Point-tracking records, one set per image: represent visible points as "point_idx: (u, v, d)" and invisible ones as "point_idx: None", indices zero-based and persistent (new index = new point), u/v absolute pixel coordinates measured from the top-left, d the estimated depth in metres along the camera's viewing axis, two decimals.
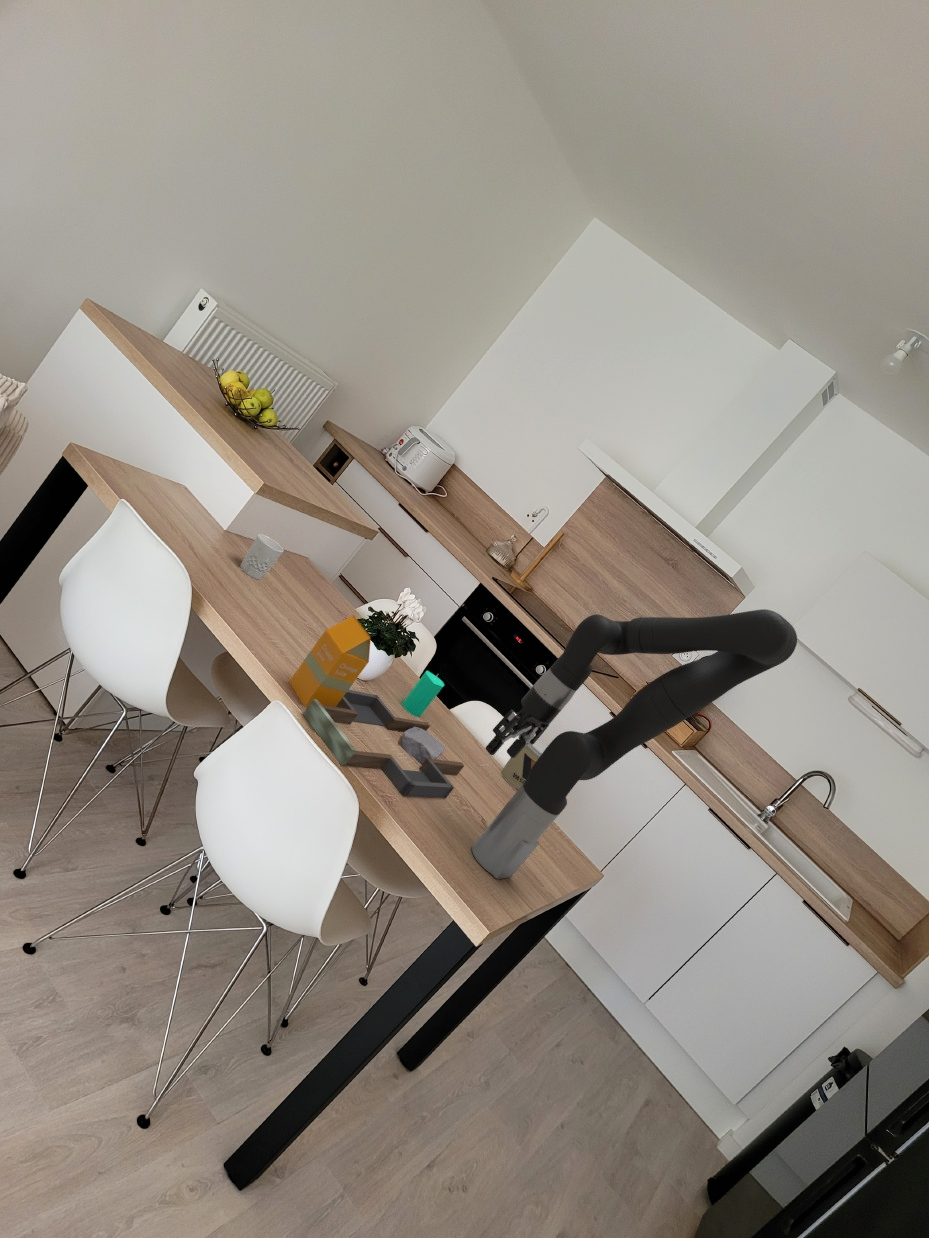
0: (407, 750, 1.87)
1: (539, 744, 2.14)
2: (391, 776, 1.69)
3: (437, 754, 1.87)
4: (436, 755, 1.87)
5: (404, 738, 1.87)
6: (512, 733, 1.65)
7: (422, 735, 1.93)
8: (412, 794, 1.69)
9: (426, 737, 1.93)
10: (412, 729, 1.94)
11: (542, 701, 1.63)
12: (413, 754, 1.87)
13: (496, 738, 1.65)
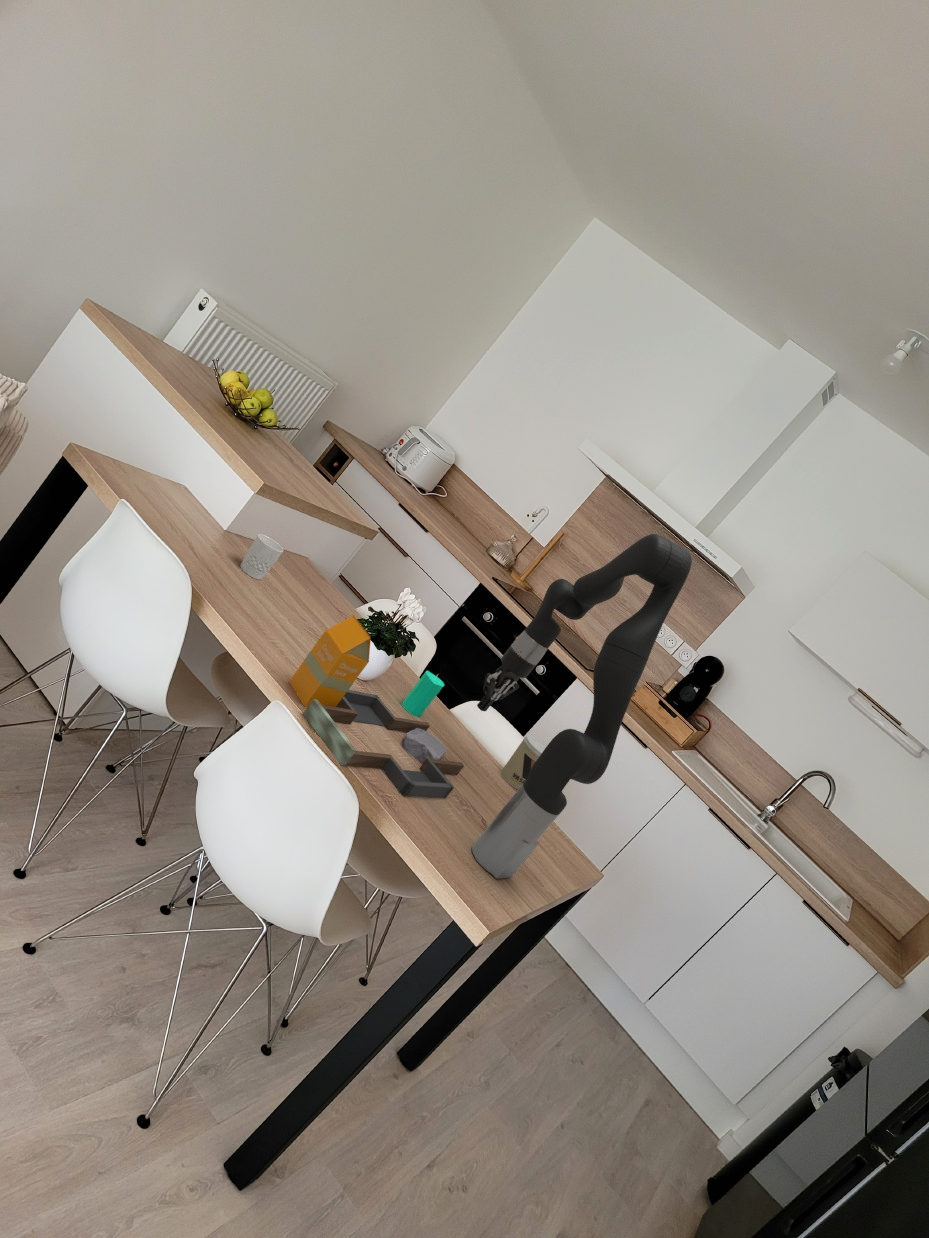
0: (409, 751, 1.87)
1: (539, 744, 2.14)
2: (391, 776, 1.69)
3: (439, 755, 1.87)
4: (438, 756, 1.87)
5: (406, 739, 1.88)
6: (496, 691, 1.95)
7: (424, 736, 1.93)
8: (412, 794, 1.69)
9: (429, 739, 1.93)
10: (414, 730, 1.94)
11: (518, 657, 1.91)
12: (415, 755, 1.87)
13: (486, 696, 1.96)
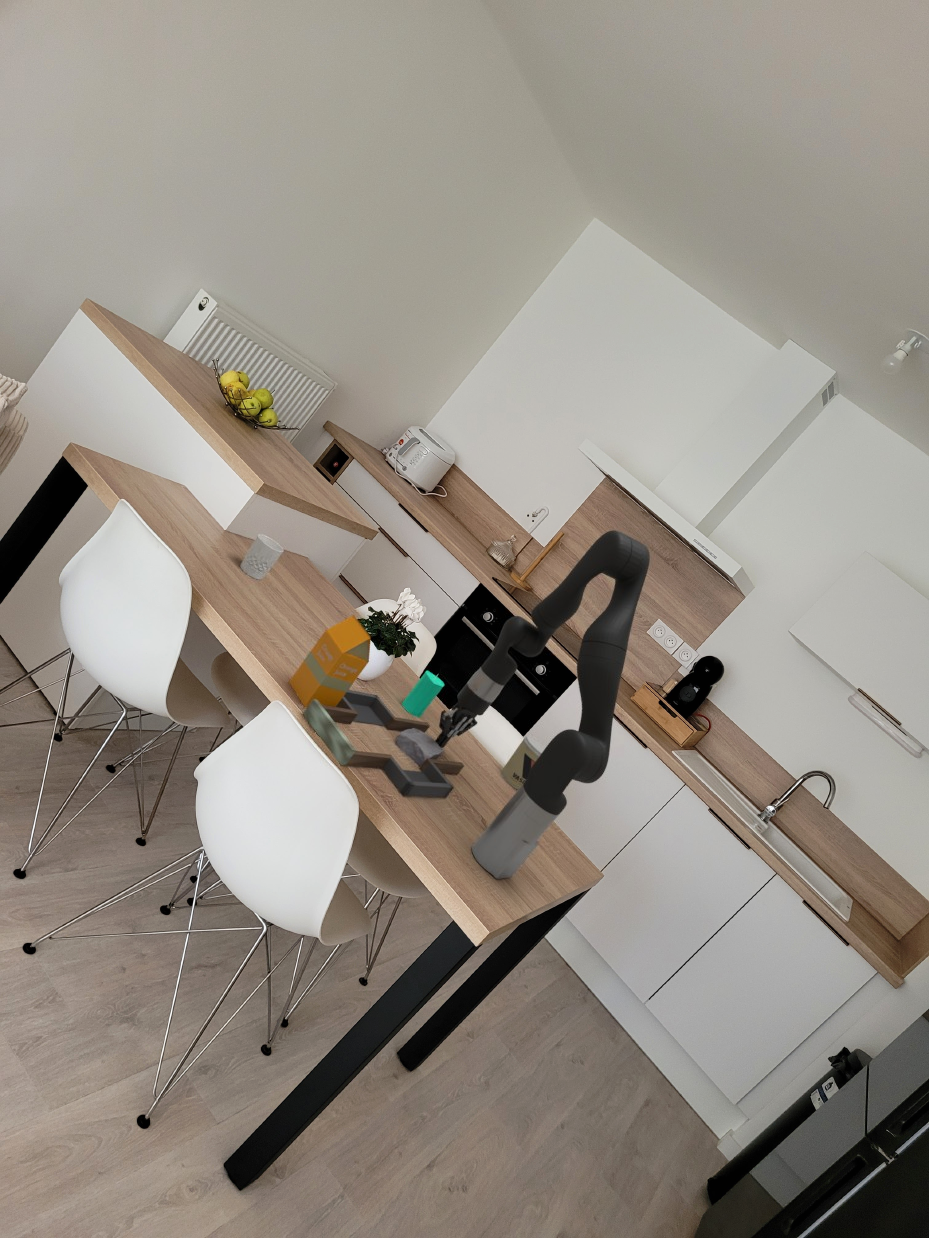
0: (401, 748, 1.86)
1: (539, 744, 2.14)
2: (391, 776, 1.69)
3: (431, 754, 1.85)
4: (430, 755, 1.85)
5: (399, 736, 1.87)
6: (452, 728, 1.93)
7: (419, 736, 1.92)
8: (412, 794, 1.69)
9: (424, 738, 1.91)
10: (410, 730, 1.93)
11: (474, 695, 1.89)
12: (407, 753, 1.85)
13: (442, 733, 1.95)
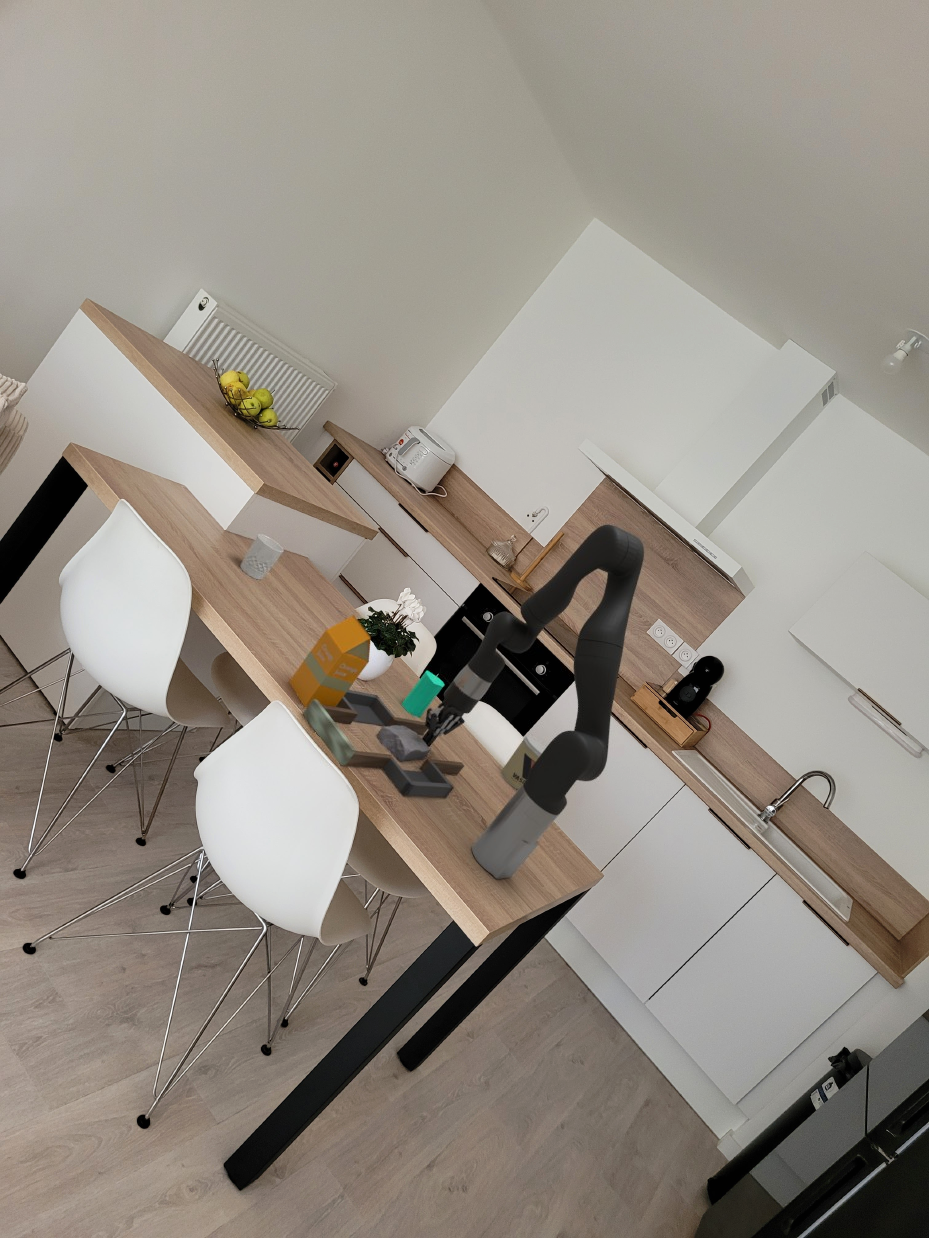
0: (382, 741, 1.82)
1: (539, 744, 2.14)
2: (391, 776, 1.69)
3: (412, 748, 1.80)
4: (410, 749, 1.80)
5: (382, 729, 1.83)
6: (438, 727, 1.89)
7: (405, 732, 1.87)
8: (412, 794, 1.69)
9: (409, 735, 1.87)
10: (397, 726, 1.89)
11: (460, 692, 1.85)
12: (388, 746, 1.81)
13: (429, 732, 1.90)
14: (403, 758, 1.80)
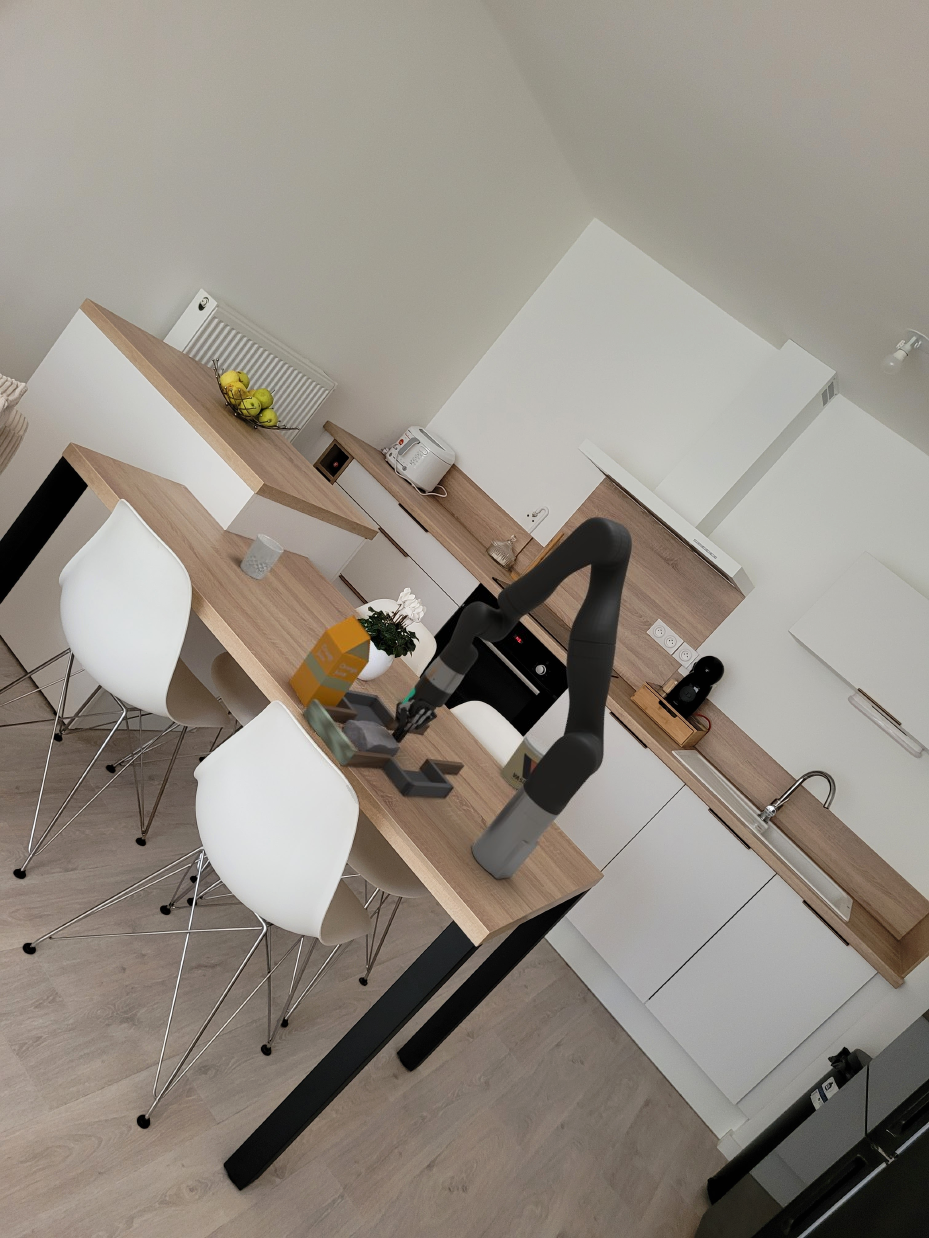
0: (346, 734, 1.74)
1: (539, 744, 2.14)
2: (391, 776, 1.69)
3: (376, 742, 1.72)
4: (374, 742, 1.71)
5: (347, 722, 1.75)
6: (409, 721, 1.79)
7: (374, 728, 1.79)
8: (412, 794, 1.69)
9: (378, 731, 1.78)
10: (367, 722, 1.81)
11: (431, 685, 1.76)
12: (351, 739, 1.73)
13: (399, 727, 1.81)
14: None
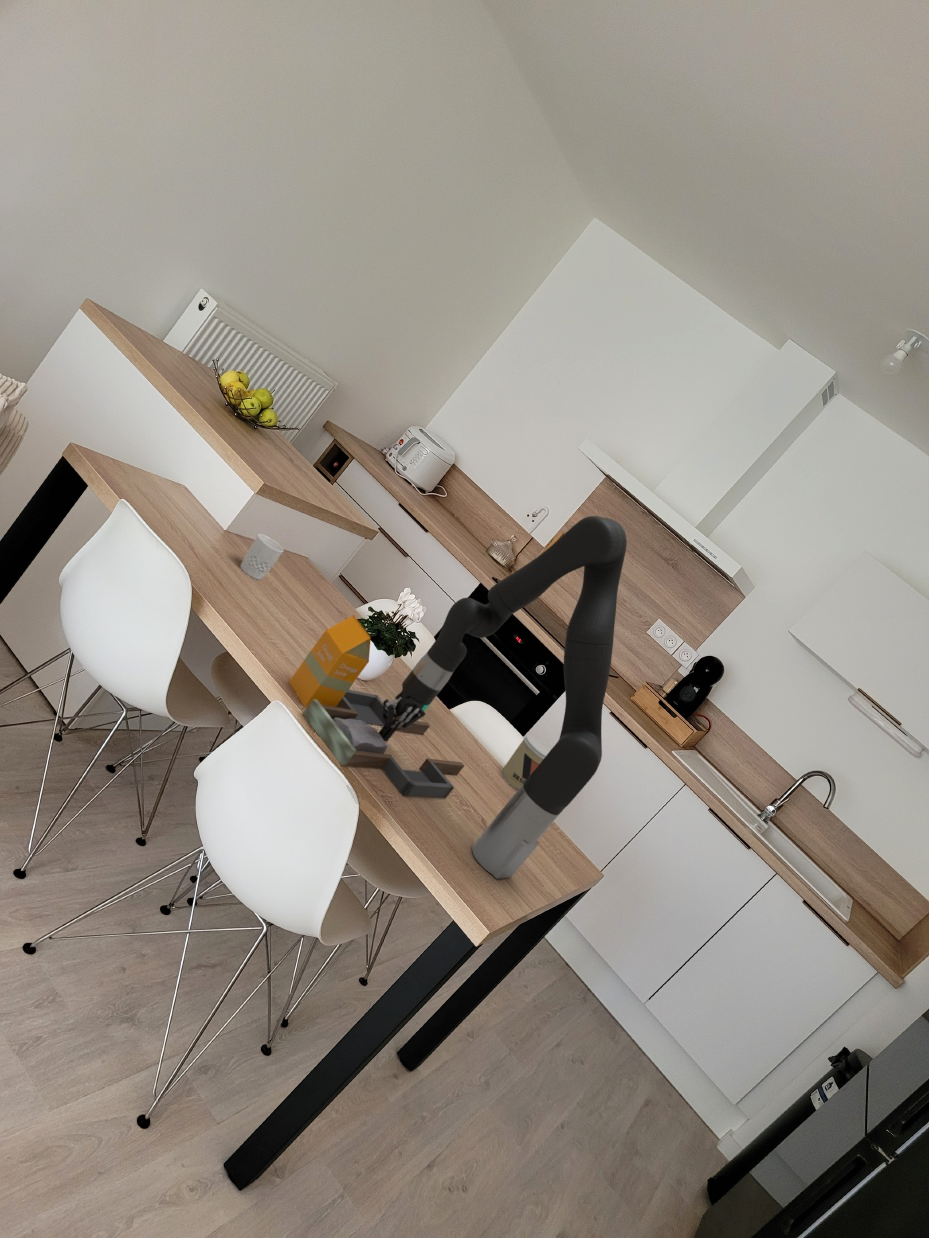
0: None
1: (539, 744, 2.14)
2: (391, 776, 1.69)
3: (362, 740, 1.68)
4: (360, 741, 1.68)
5: (333, 720, 1.72)
6: (396, 719, 1.76)
7: (361, 726, 1.75)
8: (412, 794, 1.69)
9: (365, 729, 1.75)
10: (354, 720, 1.77)
11: (419, 682, 1.72)
12: None
13: (386, 725, 1.77)
14: None
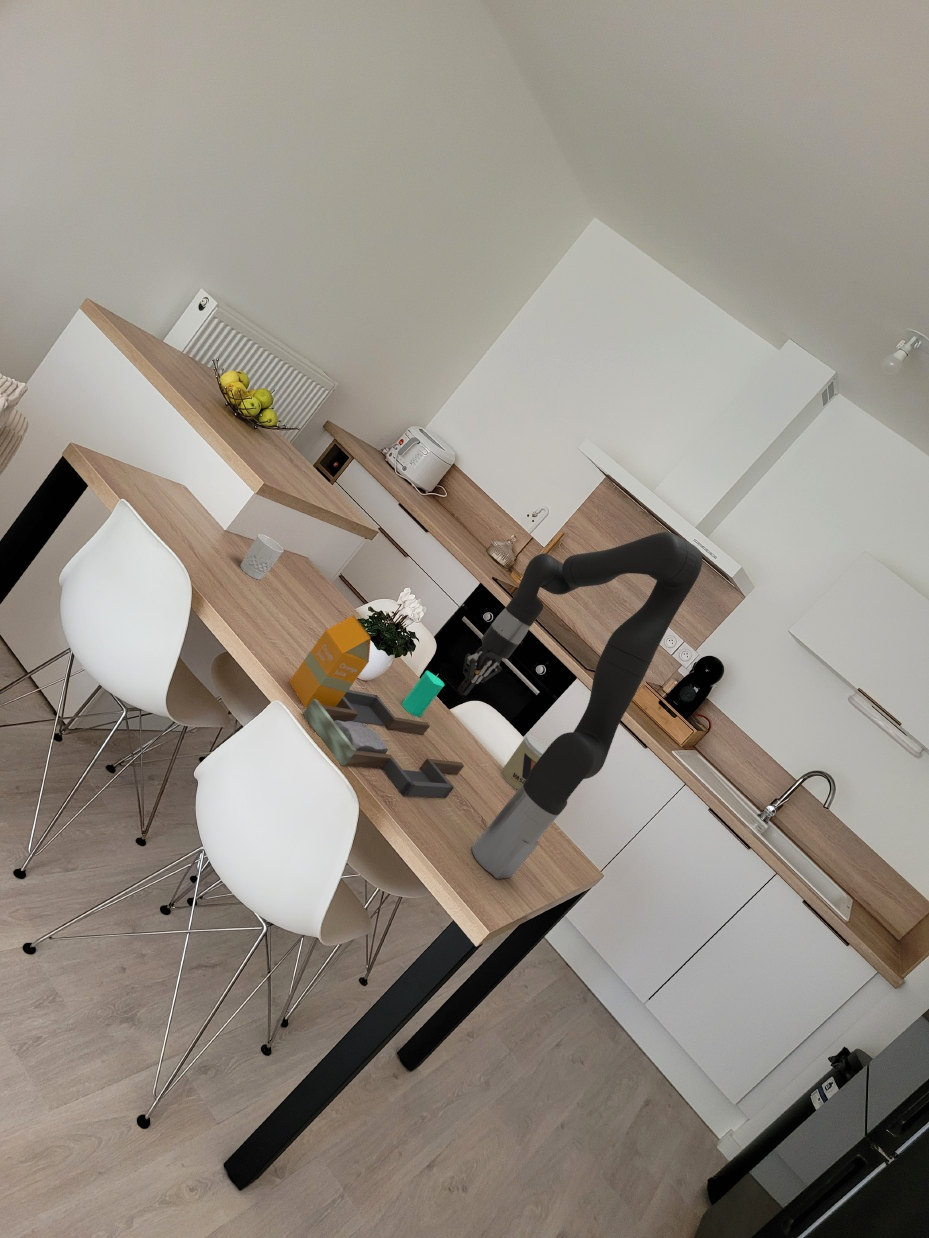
0: None
1: (539, 744, 2.14)
2: (391, 776, 1.69)
3: (362, 743, 1.67)
4: (360, 744, 1.66)
5: None
6: (477, 673, 1.84)
7: (361, 729, 1.74)
8: (412, 794, 1.69)
9: (365, 732, 1.73)
10: (354, 722, 1.76)
11: (499, 636, 1.81)
12: None
13: (466, 679, 1.86)
14: None
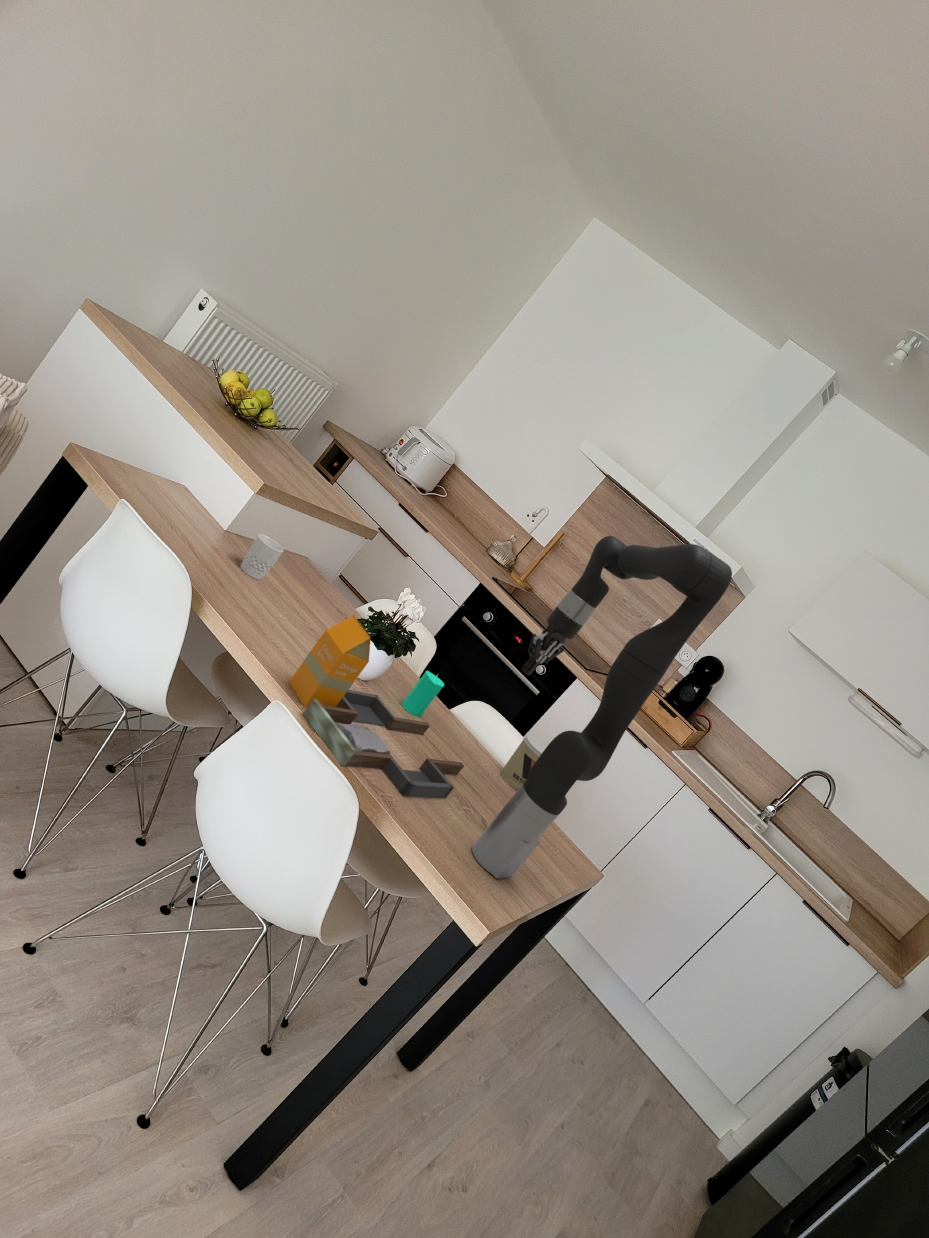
0: None
1: (539, 744, 2.14)
2: (391, 776, 1.69)
3: (365, 746, 1.66)
4: (363, 747, 1.66)
5: None
6: (541, 653, 1.89)
7: (363, 731, 1.73)
8: (412, 794, 1.69)
9: (367, 734, 1.73)
10: (356, 725, 1.75)
11: (565, 617, 1.85)
12: None
13: (531, 659, 1.90)
14: None
